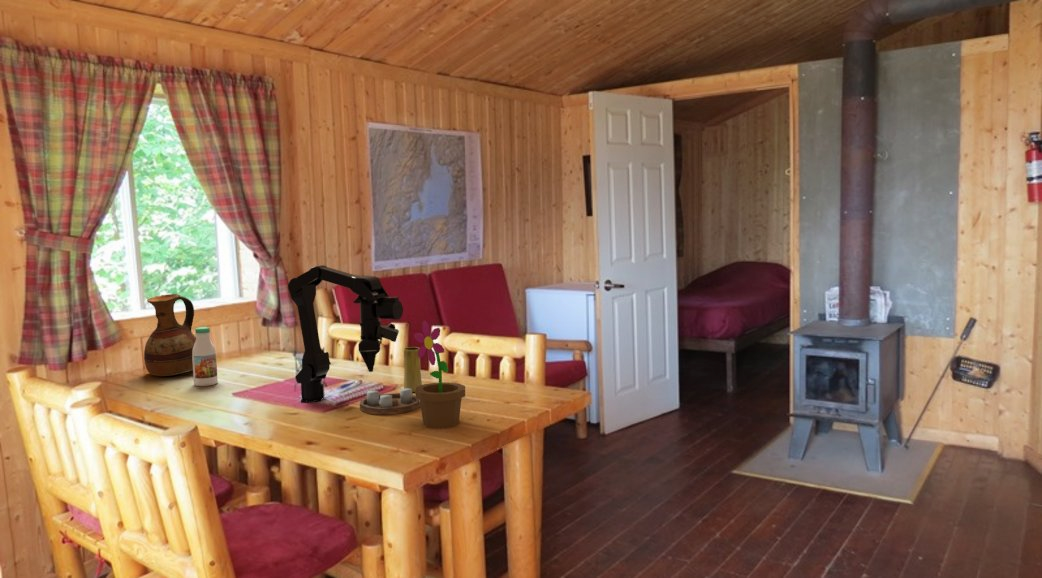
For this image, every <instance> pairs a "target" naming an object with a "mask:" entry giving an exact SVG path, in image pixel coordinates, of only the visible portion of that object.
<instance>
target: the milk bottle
mask: <svg viewBox="0 0 1042 578" xmlns="http://www.w3.org/2000/svg"><path fill="white" fill-rule="evenodd" d="M210 330H211V329H210V327H209V326H201V327H200V326H199V327H196V328H195V335H196V336H195V337H196V342H195V344H194V347H193V351H192V360H193V370H192V375H193V377H192V378H193V384H194V386H196V387H207V386H213V385H217V383H218V381H219V380H218V365H217V364H218V363H217V351H216V347H215V345H214V343H213V342H212V340H211V337H210V333H211V331H210Z"/></svg>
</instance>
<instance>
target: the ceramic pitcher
mask: <svg viewBox="0 0 1042 578" xmlns="http://www.w3.org/2000/svg"><path fill="white" fill-rule="evenodd" d="M179 300H181V301H182V302H183V304H184V307H185V317H184V318H185V319H184V321H183V323H182V324H180V323H179V322H178V320H177V319H176V315H175V310H174V307H175V304H176V302H177V301H179ZM146 301H147V302H148V303H149V304H150V305H152V306H153V309H155V317H156V319H157V324H156V328H155V329H154V330H153V331H152V332H151V334H150V335H149V336H148V339H147V341H146V343H145V345H144V350H143V351H144V352H143V354H144V355H143V359H144V364H145V368H146V371H147V373H149V374H151V375H153V376H157V377H172V376H176V375H181V374H184V373H188V372H193V360H192V351H193V347H194V344H195V342H196V337H197V336H195V334H193V332H192V327H193V321H194V317H195V308H194V307H195V306H194V304H193V302H192V301H191V300H190V299H189V298H188V297H186V296H185V295H180V294H178V293H171V294H161V295H159V296H152V297H149V298H147V300H146Z"/></svg>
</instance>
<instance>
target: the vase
mask: <svg viewBox="0 0 1042 578" xmlns="http://www.w3.org/2000/svg"><path fill="white" fill-rule="evenodd" d="M419 349H420V347H419V346H418V347H417V346H409V347H404V348H403V358H404V360H403V364H404V365H403V366H404V367H403V368H404V369H403V370H404V372H403V373H404V375H403V386H404V387H403V389H404V388H410V389H412V394H413V393H415V390H416V387H418V386H421V385H423V384H422V383H423V381H422V372H421V357H420V358H419V357H418V350H419Z"/></svg>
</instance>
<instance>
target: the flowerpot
mask: <svg viewBox="0 0 1042 578" xmlns="http://www.w3.org/2000/svg"><path fill="white" fill-rule="evenodd" d="M421 325H422V326H421V327H422V332H423V334H422V333H420V332H416V333H413V337H414V339H415V340H416V342H418V343H421V344H422V343H424V344H423V345H421V346H420V347H419V348H420V349H419V350H418V357H419V358H420V359H421V358H423V357H425V356H426V354H427V357H428V358H427V359H428V361H429V363H430V364H431V366H435V364H436V363H437V367H438V368H437V369H438V370H433V371H431V372H430V373H429V375H430V376H431V377H433V378H435V379H437V380H438V382H431V383H425V384H424V383H423V384H422V385H421V386H418V387H416V390H415V392H414V393H415V395H414V396H416V398H417V399H419V402H420V410H421V419H422V422H423V423H422V425H423V426H424V427H425V428H428V429H434V428H435V429H436V430H437V429H438V430H439V429H442V428H444V429H450V428H454V426H455V427H457V426H458V425H460V417H461V406H462V405H461V404H462V398H465V397H466V386H465V385H464V384H461V383H457V382H448V381H446V382H445V381H444V382H443V377H442V376H443V374H442V373H446V374H447V373H448V372H449V367H448V363H447V362H446V361H444V360H441V357H440V356H441V355H440V354H443V353H444V354H445V349H444V347H443V345H442V344H441V343H438V342H434V341H436V340H438V338H439V336H440V335H441V334H440V333H441V329H440V327H436V328H433V329H432V331H431V329H430V324H428V322H427V320H423V321H422V324H421ZM442 430H443V429H442Z"/></svg>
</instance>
